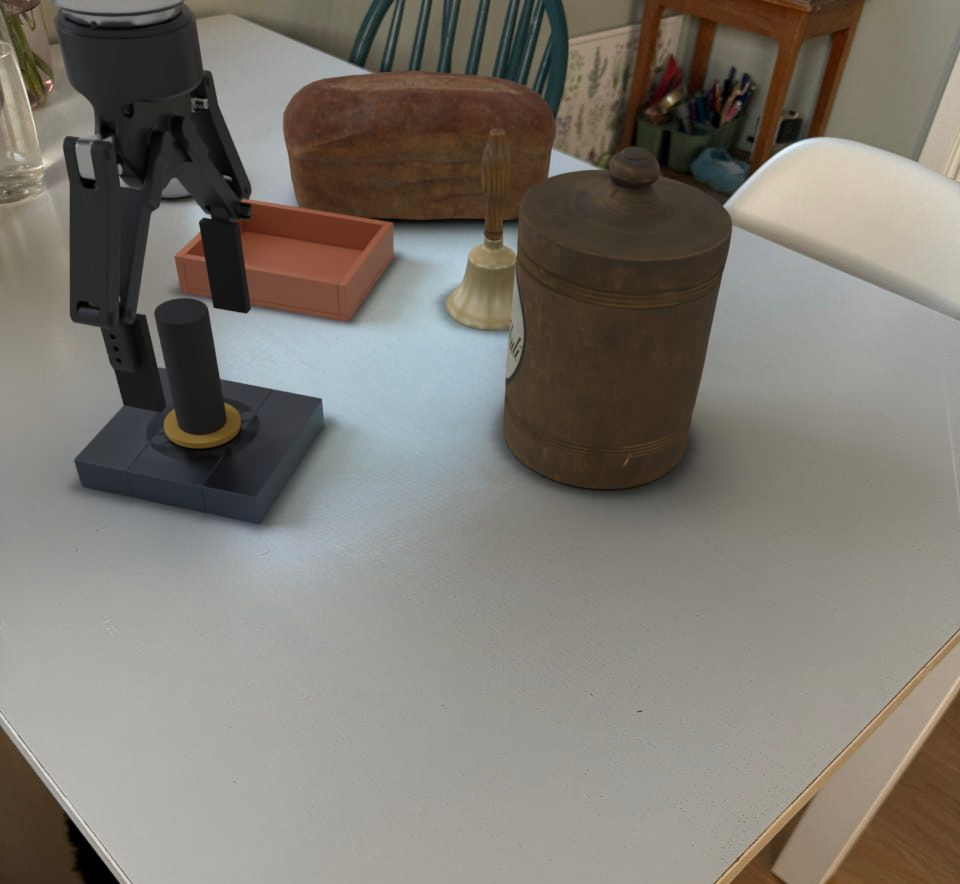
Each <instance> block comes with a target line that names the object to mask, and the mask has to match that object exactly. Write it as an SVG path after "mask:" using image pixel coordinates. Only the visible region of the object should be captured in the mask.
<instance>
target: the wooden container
mask: <svg viewBox="0 0 960 884" xmlns="http://www.w3.org/2000/svg"><path fill="white" fill-rule="evenodd" d="M732 233H733V220H732V218H731V215H730V213H729V211H728V210H727V208H725V207H724V206H723V204H722V203H720V202H719V201H718V200H717V199H716V198H715V197H713V196H711V195H709V194H708V193H706V192H704V191H703V190H700V189H698V188H696V187H694V186H692V185H689V184H687V183H685V182H682V181H680V180H675V179H672V178H669V177H665V176H662V175H661V167H660V163H659V161H658V160H657V158H656V157H655V156H654V155H653V154H651V152H650V151H649V150H648V149H646V148H644V147H641V146H627V147H625V148H623V150H621V151H619V152H616V153H614V154H613V156H612V157H611V158H610V160H609V164H608V168H607V169H606V168H605V169H582V170H574V171H569V172H565V173H564V172H563V173H559V174H556V175H553V176H550V177H548V178H547V179H545V180H542V181H541V182H539V183H537V184H536V185H534V186H533V187H531V188H530V189H529V190H528V191H527V192H526V194H525V195H524V197H523V199H522V201H521V206H520V214H519V219H518V224H517V242H516V244H517V245H516V250H517V252H516V267H515V277H514V288H513V299H512V310H511V319H510V329H509V330H508V341H507V353H506V365H505V366H506V367H505V381H504V383H505V385H504V389H505V390H504V401H503V403H504V405H503V419H502V420H503V421H502V430H503V437H504V441H505V442H506V445H507V446H508V448H509V450H510V452H511V453H512V454H513V455H514V456H515V457H516V458H517V460H519V461H520V462H521V463H523V465H525V466H526V467H528V468H529V469H531V470H532V471H534V472H536V473H538V474H539V475H541V476H544V477H546V478H548V479H550V480H552V481H554V482H555V481H556V482H558V483H562V484H565V485H570V486H572V487H573V486H574V487H577V488H584V489H593V490H620V489H628V488H635V487H638V486H641V485H644V484H648V483H651V482H654V481H656V480H658V479H660V478H661V477H663V476H665V475H666V474H667V473H669V472H671V471H672V470H673V469H674V468H675V467H676V466H677V465H678V463H679V462H680V461H681V459H682V457H683V454H684V452H685V448H686V444H687V440H688V437H689V432H690V428H691V423H692V418H693V414H694V410H695V406H696V404H697V403H696V402H697V398H698V394H699V389H700V385H701V382H702V377H703V372H704V367H705V362H706V357H707V351H708V346H709V342H710V338H711V337H710V336H711V332H712V327H713V322H714V318H715V314H716V313H715V312H716V308H717V303H718V297H719V294H720V289H721V284H722V279H723V273H724V272H725V267H726V264H727V260H728V256H729V253H730V247H731V241H732Z"/></svg>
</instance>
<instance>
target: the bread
mask: <svg viewBox="0 0 960 884" xmlns="http://www.w3.org/2000/svg"><path fill="white" fill-rule="evenodd" d="M493 129H502V130H503V131H505V134H506V141H507V145H508V149H509V153H510V157H511V179H510V186H509V190H508V194H507V197H506V199H505V203H504V207H503V221H511V220H519V214H520V206H521V201H522V199H523V197H524V195H525V194H526V192H527V191H528V190H529V189H530V188H531V187H533V186H534V185H536V184H537V183H539V182H541V181H542V180H545V179H547V178H549V174H550V166H551V158H552V150H553V147H554V143H555V140H556V136H557V121H556V120H555V117H554V113H553V111H552V108H551V107H550V105H549V104H548V102H547V101H546V100H545V98H543V97H542V95H541V94H540V93H539V92H537V91H536V90H534V89H532V88H530V87H528V86H526V85H524V84H522V83H518V82H516V81H513V80H509V79H505V78H500V77H495V76H490V75H479V74H478V75H476V74H466V73H454V72H453V73H450V72H439V71H438V72H437V71H426V70H399V71H397V70H396V71H381V72H373V73H371V72H370V73H361V74H351V75H350V74H349V75H342V76H333V77H324V78H321V79H318V80H314V81H312V82H309V83H308V84H306V85H304V86H302V87H301V88H300V89H299V90H298V91H297V92H296V93H294V94H293V95H292V97H291V98H290V100H289V102H288V103H287V105H286V107H285V109H284V111H283V113H282V133H283V139H284V143H285V147H286V153H287V156H288V162H289V171H290V179H291V184H292V188H293V193H294V195H295V199H296V202H297V203H296V204H297V205H298V207H300V208H306V209H312V210H318V211H324V212H330V213H337V214H343V215H349V216H355V217H361V218H367V219H395V220H398V219H399V220H418V221H423V220H430V221H431V220H445V219H470V220H474V219H477V220H479V219H480V220H485V217H486V204H485V199H484V195H483V191H482V184H481V163H482V158H483V154H484V150H485V148H486V145H487V142H488V139H489V135H490V131H491V130H493Z"/></svg>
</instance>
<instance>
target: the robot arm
mask: <svg viewBox="0 0 960 884" xmlns="http://www.w3.org/2000/svg"><path fill="white" fill-rule="evenodd" d="M49 2H51V3H52V4H53V5H54V6H56V7H57V8H59V9H58V10H57V12H56V15H55V17H54V19H53V25H54V28H55V33H56V36H57V41H58V44H59V45H58V46H59V49H60V52H61V57H62V62H63V65H64V69H65V73H66V77H67V80H68V83H69V84H70V85H71V87H72V88H73V89H74V90H75V91H76V92H77V93H78V94H80V95H82V96H83V98H85V99H86V100H87V101H88V102H89V103H90V105H91V106H92V109H93V117H94V134H93V135H90V136H88V137H81V136H74V135H65V137H64V138H63V141H62V151H63V157H64V161H65V167H66V172H67V173H66V174H67V177H68V181H69V182H68V183H69V317H70V321H72V323H75V324H79V325H85V326H90V327H96V328H99V329H100V331H101V332H100V333H101V336H102V340H103V342H104V347H105V349H106V354H107V358H108V361H109V365H110V366H111V368H112V369H113V372H114V376H115V378H116V382H117V386H118V390H119V393H120V398H121V402H122V406H129V407H135V408H140V409H145V410H150V411H156V412H162V411H163V410H164V409H165V408H166V402H165V397H164V393H163V388H162V384H161V380H160V375H159V371H158V368H159V367H158V363H157V358H156V355H155V349H154V345H153V340H152V336H151V331H150V328H149V323H148V318H147V315H146V314H143V313H137V311H138V305H139V298H140V297H139V296H140V291H141V285H142V279H143V271H144V266H145V265H144V264H145V259H146V258H145V257H146V251H147V244H148V238H149V230H150V224H151V223H150V222H151V217H152V213H153V212H154V211H156V210H158V209H159V207H160V206H161V202H162V198H161V196H162V190H164V189H165V188H166V187H167V185H168V184H169V182H170V181H171V179H173V178H177V179H178V181H179V182H180V183H181V184H182V185H183V187H184V188H185V189H186V190H187V192H188V193H189V194H190V197H191V198H192V200H194V202H195V203H196V204H197V206H198V207H199V208H200V209H201V210H202V211H203V213H204V214H206V215H209V216H210V218H209V217H202V218H201V219H200V220H199V221H198V227H199V232H200V233H201V238H202V244H203V250H204V256H205V262H206V267H207V273H208V279H209V285H210V291H211V297H212V298H211V297H210V298H211V301H212V307H213V309H216V310H222V311H227V312H234V313H241V314H246V315H248V314H249V313H250V311H251V310H252V305H250V298H249V291H248V284H247V277H246V270H245V263H244V256H243V249H242V242H241V235H240V228H239V223H238V219H240V220H247V221H249V220H250V219H251V217H252V205H251V203H245V202H241V201H242V199H246V200H248V199H251V195H252V192H253V191H252V190H253V189H252V184H251V182H250V179H249V177H248V174H247V172H246V169H245V167H244V164H243V162H242V160H241V157H240V155H239V152H238V149H237V147H236V145H235V142H234V140H233V138H232V135H231V132H230V130H229V128H228V125H227V123H226V120H225V118H224V115H223V113H222V110H221V108H220V105H219V100H218V96H217V90H216V85H215V80H214V76H213V73H212V71H211V70H207V69H204V64H203V58H202V53H201V52H202V51H201V46H200V44H201V43H200V39H199V32H198V25H197V19H196V18H197V17H196V15H195V13H194V11H192V10H191V8H190V7H189V6H188V5H187V4H185V2H186V0H49ZM226 176H227V177H226ZM228 177H229V178H228ZM121 180H122V181H123V183H124V184H125V185H127V186H128V187H125V186H121ZM134 188H136V189H134Z"/></svg>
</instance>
